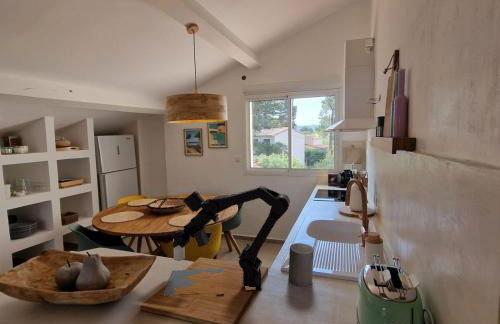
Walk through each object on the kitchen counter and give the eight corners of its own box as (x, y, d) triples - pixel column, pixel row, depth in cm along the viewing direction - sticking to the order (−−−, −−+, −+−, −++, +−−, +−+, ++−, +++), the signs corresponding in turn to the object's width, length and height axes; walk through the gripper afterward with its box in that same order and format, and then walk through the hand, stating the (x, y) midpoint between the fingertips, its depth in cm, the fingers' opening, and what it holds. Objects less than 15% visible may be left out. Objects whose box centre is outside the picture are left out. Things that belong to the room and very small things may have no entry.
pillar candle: (283, 277, 114) (284, 242, 112) (302, 271, 118) (303, 238, 117) (298, 289, 105) (299, 252, 104) (317, 283, 110) (319, 247, 108)
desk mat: (224, 270, 119) (224, 268, 119) (224, 294, 101) (224, 292, 101) (172, 272, 116) (172, 270, 116) (162, 297, 99) (162, 295, 99)
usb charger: (186, 256, 115) (186, 230, 113) (181, 261, 110) (181, 233, 109) (176, 255, 115) (176, 229, 114) (171, 260, 111) (171, 233, 110)
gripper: (205, 244, 99) (178, 270, 103) (221, 227, 117) (198, 249, 121) (185, 222, 100) (158, 248, 104) (204, 208, 118) (181, 231, 122)
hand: (175, 244), depth 113 cm, fingers closed on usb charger, 4 cm apart
